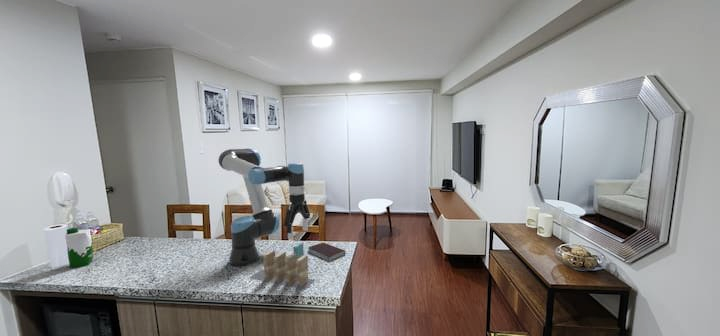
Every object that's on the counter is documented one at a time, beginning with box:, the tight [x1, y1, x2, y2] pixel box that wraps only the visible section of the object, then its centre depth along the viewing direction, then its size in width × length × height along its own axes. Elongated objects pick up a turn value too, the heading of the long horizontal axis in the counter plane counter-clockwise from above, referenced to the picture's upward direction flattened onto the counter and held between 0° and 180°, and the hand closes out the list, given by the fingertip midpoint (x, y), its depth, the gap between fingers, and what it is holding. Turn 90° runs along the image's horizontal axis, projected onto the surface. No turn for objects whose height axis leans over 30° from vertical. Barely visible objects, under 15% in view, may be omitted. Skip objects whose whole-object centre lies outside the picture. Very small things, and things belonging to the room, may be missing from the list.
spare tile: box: [293, 242, 305, 260], centre depth 143 cm, size 2×6×12 cm, turn 160°
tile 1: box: [297, 254, 309, 287], centre depth 127 cm, size 2×6×12 cm, turn 160°
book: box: [307, 242, 346, 262], centre depth 162 cm, size 12×19×3 cm, turn 47°
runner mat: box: [249, 269, 316, 291], centre depth 131 cm, size 31×9×1 cm, turn 70°
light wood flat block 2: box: [285, 252, 297, 284], centre depth 129 cm, size 2×6×12 cm, turn 160°
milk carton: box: [64, 227, 94, 269], centre depth 149 cm, size 9×9×20 cm
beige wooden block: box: [274, 251, 287, 282], centre depth 131 cm, size 2×6×12 cm, turn 160°
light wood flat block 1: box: [263, 249, 276, 280], centre depth 133 cm, size 2×6×12 cm, turn 160°
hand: (298, 234), depth 142 cm, fingers open, 13 cm apart
